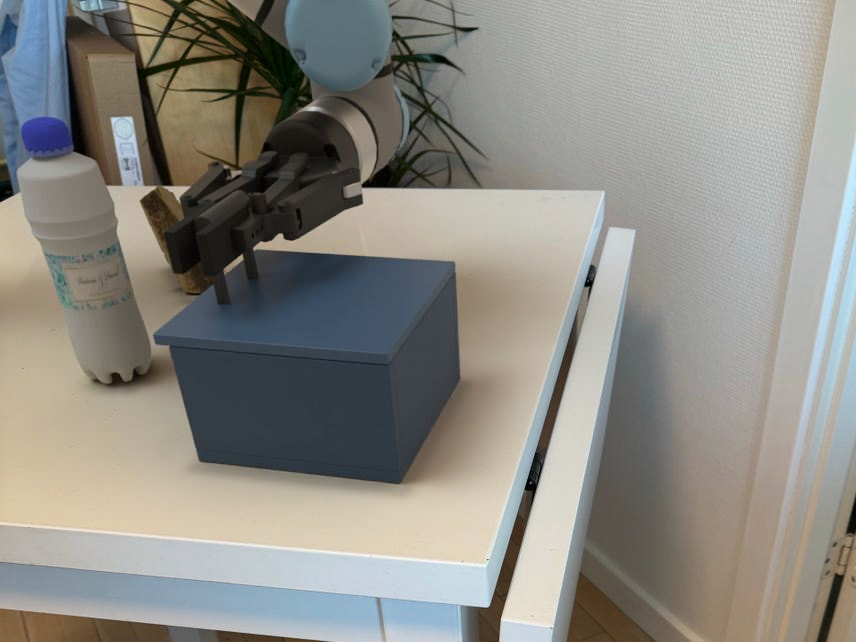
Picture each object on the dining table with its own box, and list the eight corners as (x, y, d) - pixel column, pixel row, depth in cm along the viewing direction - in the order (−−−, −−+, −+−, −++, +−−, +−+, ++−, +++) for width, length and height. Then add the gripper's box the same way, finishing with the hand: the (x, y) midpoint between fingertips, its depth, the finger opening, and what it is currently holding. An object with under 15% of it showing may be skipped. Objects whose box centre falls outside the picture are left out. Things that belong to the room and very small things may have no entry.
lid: (154, 345, 62) (126, 241, 58) (257, 258, 75) (240, 167, 70) (388, 365, 59) (377, 257, 54) (455, 271, 71) (451, 176, 67)
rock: (140, 241, 99) (110, 260, 91) (173, 169, 95) (145, 183, 87) (229, 300, 102) (208, 324, 94) (265, 234, 99) (246, 253, 90)
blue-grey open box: (198, 461, 68) (168, 346, 62) (287, 363, 80) (268, 259, 74) (400, 484, 65) (388, 366, 59) (460, 378, 77) (455, 272, 71)
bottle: (93, 397, 77) (4, 133, 63) (72, 368, 81) (-16, 115, 67) (170, 375, 79) (100, 118, 66) (145, 349, 83) (75, 102, 70)
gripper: (404, 209, 78) (300, 317, 62) (248, 201, 81) (108, 302, 64) (396, 111, 73) (281, 199, 57) (231, 106, 76) (74, 189, 59)
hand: (189, 254), depth 61 cm, fingers closed on lid, 2 cm apart
